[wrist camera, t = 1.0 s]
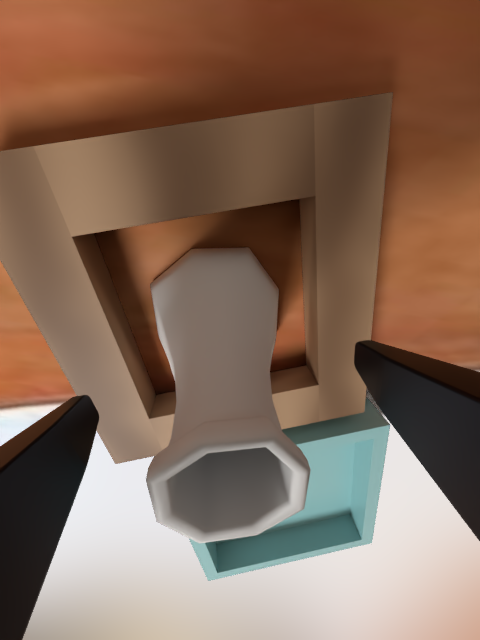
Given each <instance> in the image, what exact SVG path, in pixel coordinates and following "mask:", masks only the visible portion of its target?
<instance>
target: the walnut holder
mask: <svg viewBox="0 0 480 640" xmlns="http://www.w3.org/2000/svg"><path fill="white" fill-rule="evenodd" d="M392 99H393V92H390V93H384V94H377V95H370V96H364V97H357V98H351V99H344V100H337V101H331V102H324V103H317V104H311V105H304V106H297V107H291V108H284V109H277V110H271V111H264V112H257V113H251V114H244V115H238V116H231V117H224V118H218V119H211V120H204V121H198V122H191V123H184V124H178V125H171V126H164V127H158V128H151V129H145V130H138V131H131V132H125V133H118V134H111V135H105V136H98V137H91V138H85V139H78V140H71V141H65V142H58V143H52V144H45V145H38V146H32V147H25V148H18V149H12V150H5V151H0V261H1V262H2V264H3V266H4V268H5V269H6V271H7V273H8V275H9V276H10V278H11V280H12V282H13V284H14V285H15V287H16V289H17V291H18V292H19V294H20V296H21V298H22V299H23V301H24V303H25V305H26V307H27V308H28V310H29V312H30V314H31V315H32V317H33V319H34V321H35V322H36V324H37V326H38V328H39V330H40V331H41V333H42V335H43V337H44V338H45V340H46V342H47V344H48V345H49V347H50V349H51V351H52V352H53V354H54V356H55V358H56V360H57V361H58V363H59V365H60V367H61V368H62V370H63V372H64V374H65V375H66V377H67V379H68V381H69V383H70V384H71V386H72V388H73V390H74V391H75V393H76V395H77V396H81V395H88V396H90V398H91V400H92V401H93V403H94V405H95V407H96V409H97V411H98V413H99V422H98V426H97V432H98V434H99V436H100V437H101V439H102V441H103V443H104V444H105V446H106V448H107V450H108V452H109V453H110V455H111V457H112V459H113V460H114V462H115V464H118V463H122V462H127V461H132V460H137V459H142V458H147V457H151V456H156V455H157V454H158V453H159V452H161V451H162V450H163V449H165V448H166V447H168V445H169V442H170V439H171V435H172V428H173V422H174V415H175V409H176V402H177V401H176V391H174V392H169V393H164V394H159V395H156V393H155V391H154V388H153V385H152V383H151V380H150V378H149V375H148V372H147V370H146V367H145V365H144V362H143V359H142V357H141V354H140V352H139V349H138V347H137V344H136V341H135V339H134V336H133V334H132V331H131V328H130V326H129V323H128V321H127V318H126V315H125V313H124V310H123V308H122V305H121V302H120V300H119V297H118V295H117V292H116V289H115V287H114V284H113V282H112V279H111V276H110V274H109V271H108V269H107V266H106V263H105V261H104V258H103V256H102V253H101V250H100V248H99V245H98V243H97V240H96V237H95V235H94V233H97V232H103V231H109V230H115V229H121V228H127V227H133V226H139V225H145V224H151V223H157V222H163V221H169V220H175V219H181V218H187V217H193V216H199V215H205V214H211V213H217V212H222V211H228V210H234V209H240V208H246V207H252V206H258V205H264V204H270V203H276V202H282V201H288V200H294V199H299V204H300V228H301V251H302V275H303V299H304V322H305V346H306V366H301V367H296V368H291V369H285V370H280V371H275V372H270V380H271V390H272V400H273V403H274V407H275V410H276V413H277V416H278V419H279V423H280V426H281V429H286V428H291V427H296V426H301V425H306V424H310V423H315V422H320V421H325V420H330V419H334V418H339V417H344V416H349V415H354V414H359V413H363V412H364V410H365V399H366V388H367V387H366V385H365V383H364V382H363V380H362V378H361V377H360V375H359V373H358V372H357V370H356V368H355V365H354V353H355V344H356V343H357V342H359V341H364V340H371V332H372V321H373V310H374V299H375V288H376V277H377V266H378V255H379V243H380V232H381V221H382V210H383V199H384V188H385V177H386V165H387V154H388V143H389V132H390V121H391V110H392Z"/></svg>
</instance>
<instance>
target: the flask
mask: <svg viewBox="0 0 480 640" xmlns="http://www.w3.org/2000/svg"><path fill="white" fill-rule="evenodd" d="M150 288H151V294H152V300H153V306H154V312H155V318H156V324H157V330H158V335H159V338H160V341H161V343H162V346H163V348H164V350H165V353H166V355H167V358H168V361H169V364H170V367H171V370H172V373H173V376H174V379H175V386H176V401H177V402H176V409H175V415H174V422H173V428H172V435H171V439H170V442H169V445H168V447H166V448H165V449H163V450H162V451H161V452H159V453H158V454H157V455H156V456H154V458H153V460H152V462H151V464H150V466H149V468H148V473H147V478H146V482H147V486H148V490H149V493H150V497H151V501H152V505H153V509H154V513H155V517H156V521H157V522H158V523H160V524H162V525H164V526H166V527H168V528H170V529H172V530H174V531H176V532H178V533H180V534H182V535H184V536H186V537H188V538H190V539H192V540H194V541H196V542H198V543H207V542H214V541H220V540H227V539H234V538H241V537H248V536H255V535H258V534H260V533H262V532H264V531H265V530H267V529H269V528H271V527H273V526H274V525H276V524H278V523H280V522H282V521H283V520H285V519H287V518H289V517H291V516H292V515H294V514H296V513H298V512H300V511H301V510H303V509H304V507H305V501H306V495H307V489H308V483H309V477H310V471H311V469H310V466H309V463H308V460H307V458H306V457H305V455H304V454H303V452H302V451H301V449H300V448H299V447H298V446H297V445H296V444H294V443H293V442H292V441H291V440H290V439H289V438H288V437H287V436H286V435H285V434H284V433H283V432H282V429H281V426H280V423H279V419H278V416H277V413H276V410H275V407H274V403H273V400H272V390H271V380H270V366H271V359H272V354H273V350H274V345H275V341H276V332H277V315H278V298H279V289H278V287H277V286H276V285H275V283H274V282H273V280H272V279H271V278H270V276H269V275H268V273H267V272H266V271H265V269H264V268H263V267H262V265H261V264H260V262H259V261H258V260H257V258H256V257H255V255H254V254H253V253H252V251H251V250H250V249H249V247H245V248H203V249H191V250H190V251H189V252H187V253H186V254H185V255H184V256H183V257H181V258H180V259H179V260H178V261H177V262H176V263H174V264H173V265H172V266H171V267H170V268H168V269H167V270H166V271H165V272H164V273H163V274H161V275H160V276H159V277H158V278H157V279H155V280H154V281H153V282H152V283H151V284H150Z"/></svg>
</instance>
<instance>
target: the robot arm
mask: <svg viewBox="0 0 480 640" xmlns="http://www.w3.org/2000/svg"><path fill="white" fill-rule="evenodd" d="M354 365H355V368H356V370H357V372H358V373H359V375H360V377H361V378H362V380H363V382H364V383H365V385H366V387H367V388H368V390H369V392H370V393H371V395H372V397H373V398H374V400H375V402H376V403H377V405H378V406H379V408H380V409H381V411H382V412H383V413H384V415H385V416H386V417H387V419H388V420H389V421H390V423H391V424H392V425H393V427H394V428H395V429H396V431H397V432H398V433H399V435H400V436H401V437H402V439H403V440H404V441H405V442H406V444H407V445H408V447H409V448H410V449H411V451H412V452H413V453H414V455H415V456H416V457H417V459H418V460H419V461H420V462H421V464H422V465H423V466H424V468H425V469H426V471H427V472H428V473H429V475H430V476H431V477H432V479H433V480H434V481H435V483H436V484H437V485H438V486H439V488H440V489H441V490H442V492H443V493H444V494H445V496H446V497H447V498H448V500H449V501H450V502H451V504H452V505H453V506H454V508H455V509H456V510H457V512H458V513H459V514H460V515H461V517H462V518H463V520H464V521H465V522H466V523H467V525H468V526H469V528H470V529H471V530H472V532H473V533H474V534H475V536H476V537H477V538H478V539H479V541H480V372H477V371H474V370H470V369H467V368H464V367H460V366H457V365H453V364H450V363H447V362H443V361H440V360H436V359H433V358H429V357H426V356H423V355H419V354H416V353H412V352H409V351H406V350H402V349H399V348H395V347H392V346H389V345H385V344H382V343H378V342H375V341H372V340H364V341H359V342H357V343H356V344H355V353H354ZM98 422H99V413H98V411H97V409H96V407H95V405H94V403H93V401H92V400H91V398H90V396H88V395H81V396H75V397H72V398H71V399H69V400H68V401H66V402H65V403H63V404H62V405H61V406H59V407H58V408H56V409H55V410H53V411H52V412H50V413H49V414H47V415H46V416H44V417H43V418H41V419H40V420H38V421H37V422H36V423H34V424H33V425H31V426H30V427H28V428H27V429H25V430H24V431H22V432H21V433H19V434H18V435H16V436H15V437H13V438H12V439H10V440H9V441H8V442H6V443H5V444H3V445H2V446H0V640H22V639H23V636H24V634H25V631H26V628H27V626H28V623H29V620H30V617H31V614H32V612H33V609H34V607H35V604H36V601H37V599H38V596H39V593H40V591H41V588H42V585H43V583H44V580H45V577H46V575H47V572H48V569H49V567H50V564H51V561H52V558H53V556H54V553H55V551H56V548H57V545H58V542H59V540H60V537H61V534H62V532H63V529H64V526H65V523H66V521H67V518H68V516H69V513H70V510H71V507H72V505H73V502H74V499H75V497H76V494H77V491H78V489H79V486H80V483H81V481H82V478H83V475H84V472H85V470H86V466H87V463H88V460H89V456H90V452H91V449H92V445H93V441H94V437H95V434H96V430H97V426H98Z"/></svg>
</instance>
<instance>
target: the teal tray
mask: <svg viewBox="0 0 480 640" xmlns="http://www.w3.org/2000/svg"><path fill="white" fill-rule="evenodd" d="M389 429H390V424H389V423H388V422H387V421H386V420H385V418H384V417H383V416H382V415H381V414H380V412H379V411H378V410H377V409H376V408H375V407H374V405H373V404H372V403H371V402H370V401H369V400H368V398H366V399H365V410H364V412H363V413H359V414H354V415H349V416H344V417H339V418H334V419H330V420H325V421H320V422H315V423H310V424H306V425H301V426H296V427H291V428H286V429H282V432H283V433H284V434H285V435H286V436H287V437H288V438H289V439H290V440H291V441H292V442H293V443H294V444H296V445H297V446H298V447H299V448H300V449H301V451H302V452H303V454H304V455H305V457H306V458H307V460H308V463H309V466H310V469H311V471H310V477H309V483H308V489H307V495H306V501H305V507H304V509H303V510H301V511H300V512H298V513H296V514H294V515H292V516H291V517H289V518H287V519H285V520H283V521H282V522H280V523H278V524H276V525H274V526H273V527H271V528H269V529H267V530H265V531H264V532H262V533H260V534H258V535H255V536H248V537H241V538H234V539H227V540H220V541H214V542H207V543H198V542H196V541H194V540H192V539H190V538H189V540H190V542H191V544H192V546H193V548H194V551H195V553H196V555H197V557H198V559H199V561H200V564H201V566H202V568H203V570H204V572H205V575H206V577H207V579H208V581H210V580H214V579H219V578H223V577H227V576H232V575H236V574H240V573H244V572H249V571H253V570H257V569H262V568H266V567H270V566H275V565H279V564H283V563H287V562H291V561H296V560H300V559H305V558H309V557H314V556H318V555H322V554H327V553H331V552H335V551H339V550H344V549H348V548H352V547H356V546H361V545H365V544H370V543H372V538H373V532H374V525H375V519H376V513H377V506H378V500H379V493H380V487H381V480H382V473H383V467H384V461H385V454H386V448H387V441H388V435H389Z"/></svg>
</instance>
